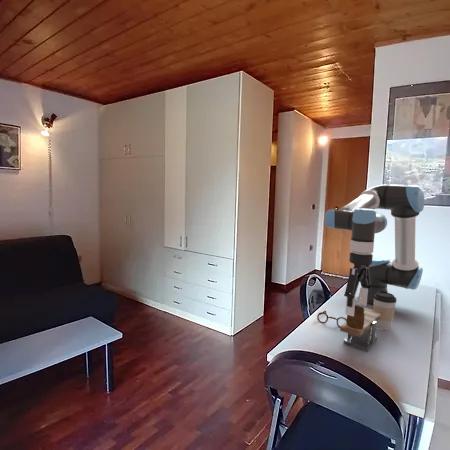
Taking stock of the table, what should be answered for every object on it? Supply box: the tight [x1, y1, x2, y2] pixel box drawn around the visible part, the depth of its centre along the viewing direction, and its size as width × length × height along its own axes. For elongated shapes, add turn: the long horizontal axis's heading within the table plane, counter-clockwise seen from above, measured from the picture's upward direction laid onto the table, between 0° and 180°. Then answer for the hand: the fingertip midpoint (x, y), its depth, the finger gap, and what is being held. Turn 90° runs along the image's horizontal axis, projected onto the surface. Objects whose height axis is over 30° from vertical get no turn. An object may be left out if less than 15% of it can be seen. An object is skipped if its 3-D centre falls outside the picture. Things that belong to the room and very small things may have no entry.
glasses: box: [316, 310, 347, 329], centre depth 147 cm, size 13×13×5 cm
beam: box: [339, 307, 383, 337], centre depth 126 cm, size 28×7×2 cm, turn 140°
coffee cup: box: [372, 291, 397, 331], centre depth 142 cm, size 9×9×15 cm
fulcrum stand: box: [342, 321, 378, 353], centre depth 127 cm, size 12×9×10 cm
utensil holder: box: [346, 296, 365, 329], centre depth 119 cm, size 6×6×12 cm
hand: (356, 309), depth 119 cm, fingers open, 13 cm apart
